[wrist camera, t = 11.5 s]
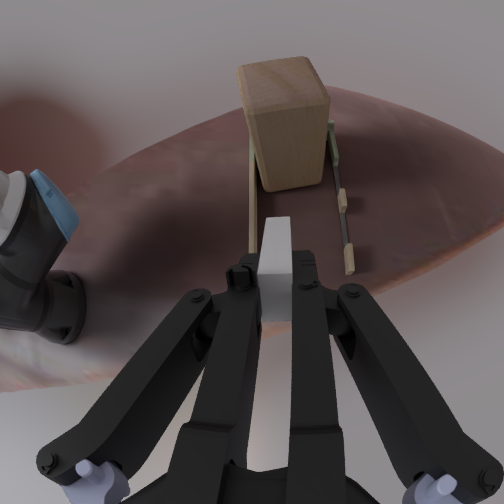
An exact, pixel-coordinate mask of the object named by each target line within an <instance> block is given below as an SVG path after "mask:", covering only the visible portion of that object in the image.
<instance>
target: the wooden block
mask: <svg viewBox="0 0 504 504" xmlns="http://www.w3.org/2000/svg"><path fill="white" fill-rule="evenodd" d="M236 75H237V79H238V85H239V89H240V94H241V99H242V104H243V109H244V114H245V117H246V121H247V125H248V129H249V133H250V137H251V141H252V145H253V149H254V153H255V157H256V161H257V165H258V169H259V173H260V177H261V181H262V185H263V188H264V190H265V191H266V192H275V191H280V190H286V189H291V188H297V187H303V186H309V185H315V184H318V183H320V182H321V180H322V173H323V165H324V156H325V148H326V138H327V128H328V118H329V106H330V97H329V95H328V93H327V91H326V89H325V87H324V85H323V83H322V81H321V80H320V78H319V76H318V74H317V73H316V71H315V69H314V67H313V65H312V64H311V62H310V60H309V59H308V58H307V57H302V56H301V57H292V58H284V59H277V60H270V61H263V62H258V63H252V64H247V65H242V66H240V67H238V69H237V73H236Z"/></svg>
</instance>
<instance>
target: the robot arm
mask: <svg viewBox="0 0 504 504" xmlns="http://www.w3.org/2000/svg"><path fill="white" fill-rule="evenodd" d="M78 224H79V216H78V213H77V212H76V210H75V209H74V207H73V206H72V205H71V203H70V202H69V201H68V200H67V199H66V197H65V196H64V195H63V194H62V193H61V192H60V190H59V189H58V188H57V187H56V186H55V185H54V184H53V183H52V182H51V181H50V179H49V178H47V176H45V174H44V173H42V172H41V171H39V170H38V169H36V170H34V171H33V172H32V173H31V174H30V177H28V176H27V175H25V174H24V173H23V172H21V171H15V172H13V173H11V174H9V175H6V174H5V173H3V172H2V171H0V328H4V329H11V330H19V331H28V332H34V333H36V334H38V335H39V336H41V337H43V338H45V339H47V340H48V341H50V342H53V343H58V344H67V343H70V342H71V341H73V340H74V339H75V338H76V337H77V336H78V334H79V333H80V331H81V329H82V326H83V323H84V319H85V313H86V300H85V294H84V290H83V287H82V285H81V283H80V281H79V280H78V278H77V277H76V276H75V275H73V274H72V273H69V272H67V271H64V270H51V271H50V269H51V267H52V266H53V264H54V263H55V261H56V259H57V258H58V256H59V255H60V253H61V252H62V250H63V249H64V247H65V246H66V244H67V243H69V241H70V237H71V236H72V234H73V232H74V231H75V229H76V228H77V226H78ZM226 278H227V284H228V290H227V291H226V292H224V293H220V294H216V295H212V296H211V292H210V291H208V290H206V289H194V290H191V291H189V292H188V293H186V294H185V295H184V296H183V298H182V299H181V300H180V301H179V302H178V303H177V305H176V306H175V307H174V308H173V309H172V310H171V312H170V313H169V314H168V315H167V316H166V317H165V319H164V320H163V321H162V322H161V323H160V325H159V326H158V327H157V328H156V329H155V330H154V332H153V333H152V334H151V335H150V336H149V338H148V339H147V340H146V341H145V342H144V344H143V345H142V346H141V347H140V348H139V350H138V351H137V352H136V353H135V354H134V356H133V357H132V358H131V359H130V361H129V362H128V363H127V364H126V365H125V367H124V368H123V369H122V370H121V371H120V373H119V374H118V375H117V376H116V378H115V379H114V380H113V381H112V383H111V384H110V385H109V386H108V387H107V389H106V390H105V391H104V393H103V394H102V395H101V396H100V397H99V399H98V400H97V401H96V403H95V404H94V405H93V407H91V409H90V410H89V411H88V413H87V414H86V415H85V416H84V418H83V419H82V420H81V422H80V423H79V424H77V425H76V426H75V427H73V428H72V429H70V430H68V431H67V432H65V433H64V434H63V435H61V436H60V437H58V438H56V439H55V440H53V441H52V442H50V443H49V444H47V445H45V446H44V447H43V448H42V449H41V450H40V451H39V452H38V455H37V459H36V464H37V468H38V470H39V471H40V473H41V474H42V475H44V476H45V477H47V478H49V479H50V480H52V481H54V482H56V483H57V484H59V485H60V486H61V487H62V489H63V490H64V492H65V494H66V496H67V497H68V499H69V501H70V502H71V504H380V503H379V502H378V501H376V500H375V499H374V498H373V497H372V496H371V495H370V494H369V493H368V492H367V491H366V490H365V489H363V488H362V487H361V486H360V485H359V484H358V483H357V482H355V481H354V480H353V479H351V478H349V477H347V476H346V475H345V457H344V439H343V432H342V428H341V427H340V426H339V422H338V411H337V399H336V389H335V380H334V370H333V362H332V354H331V346H330V339H329V334H331V335H333V337H334V340H335V342H336V344H337V346H338V348H339V350H340V352H341V354H342V356H343V358H344V360H345V362H346V364H347V366H348V368H349V371H350V372H351V375H352V377H353V379H354V381H355V383H356V385H357V387H358V389H359V391H360V394H361V396H362V398H363V400H364V402H365V404H366V406H367V409H368V411H369V413H370V415H371V418H372V420H373V422H374V424H375V426H376V429H377V431H378V433H379V435H380V438H381V440H382V442H383V444H384V447H385V449H386V451H387V454H388V456H389V458H390V461H391V463H392V465H393V467H394V469H395V471H396V473H397V475H398V477H399V479H400V480H401V482H402V483H403V485H404V486H405V487H406V488H407V490H406V492H405V494H404V496H403V500H402V504H476V503H478V502H480V501H482V500H484V499H487V498H488V497H490V496H492V495H494V494H495V493H496V492H497V490H498V489H499V488H500V486H501V484H502V482H503V476H504V471H503V467H502V465H501V464H500V463H499V461H498V460H496V459H495V458H494V457H493V456H492V455H490V454H489V453H488V452H487V451H486V450H484V449H483V448H482V447H481V446H479V445H478V444H477V443H476V442H474V441H473V440H472V439H471V438H470V437H469V436H467V435H466V434H465V433H464V432H463V431H462V429H461V427H460V425H459V424H458V422H457V420H456V419H455V417H454V415H453V414H452V412H451V411H450V409H449V407H448V405H447V404H446V402H445V400H444V399H443V397H442V396H441V394H440V393H439V391H438V390H437V388H436V386H435V385H434V383H433V382H432V380H431V379H430V377H429V376H428V374H427V372H426V371H425V370H424V368H423V366H422V365H421V364H420V362H419V361H418V359H417V358H416V356H415V355H414V353H413V352H412V350H411V349H410V348H409V346H408V345H407V343H406V342H405V340H404V339H403V338H402V336H401V335H400V333H399V332H398V331H397V329H396V328H395V327H394V325H393V324H392V322H391V321H390V320H389V319H388V317H387V316H386V314H385V313H384V312H383V310H382V309H381V308H380V306H379V305H378V304H377V302H376V301H375V300H374V299H373V297H372V296H371V295H370V293H369V292H368V291H367V290H366V289H365V288H364V287H363V286H361V285H359V284H354V283H349V284H344V285H342V286H341V287H340V288H339V289H338V291H336V290H331V289H327V288H325V287H323V286H322V285H321V283H320V281H319V280H318V274H317V268H316V263H315V257H314V254H313V253H312V252H311V251H310V250H303V251H291V229H290V216H289V217H269V218H266V223H265V229H264V235H263V241H262V248H261V253H246V254H245V255H244V256H243V257H242V258H241V259H240V263H239V264H236V265H234V266H231V267H230V268H228V269H227V270H226ZM261 317H262V321H292V384H291V385H292V386H291V419H290V437H289V457H288V467H284V468H279V469H274V470H269V471H263V472H255V471H252V470H248V469H247V447H248V440H249V431H250V424H251V416H252V409H253V401H254V392H255V384H256V375H257V367H258V359H259V350H260V341H261V332H262V326H261ZM205 365H206V366H205ZM204 367H205V369H204ZM203 369H204V373H203V376H202V380H201V383H200V387H199V390H198V394H197V398H196V401H195V405H194V408H193V412H192V416H191V419H190V421H189V422H187V423H184V424H183V425H182V426H181V428H180V431H179V434H178V437H177V440H176V444H175V447H174V451H173V454H172V458H171V461H170V465H169V468H168V472H167V473H165V474H164V475H162V476H161V477H159V478H158V479H156V480H155V481H153V482H152V483H150V484H149V485H147V486H146V487H144V488H143V489H141V490H140V491H138V492H137V493H135V494H134V495H132V496H130V497H129V498H127V499H126V500H124V501H122V502H121V500H122V499H123V497H126V496H128V495H129V493H130V488H129V484H128V480H129V479H130V478H131V477H132V476H133V475H134V474H135V473H136V472H137V471H138V470H139V469H140V468H141V467H142V465H143V464H144V462H145V461H146V460H147V458H148V457H149V455H150V453H151V452H152V451H153V449H154V447H155V446H156V444H157V443H158V441H159V440H160V438H161V436H162V435H163V433H164V432H165V430H166V428H167V427H168V425H169V424H170V422H171V420H172V419H173V417H174V416H175V414H176V412H177V411H178V409H179V408H180V406H181V404H182V403H183V401H184V400H185V398H186V396H187V394H188V393H189V391H190V390H191V388H192V387H193V385H194V383H195V382H196V380H197V378H198V377H199V375H200V374H201V371H202V370H203Z"/></svg>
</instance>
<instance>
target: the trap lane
mask: <svg viewBox="0 0 504 504" xmlns="http://www.w3.org/2000/svg"><path fill="white" fill-rule="evenodd" d="M248 130H249V129H248ZM333 130H334V120H328V128H327V138H326V141H328V144H329V149H330V154H331V160H332V166H333V172H334V178H335V184H336V191H337V198H338V205H339V213H340V221H341V229H342V238H343V248H344V259H345V272H346V275H351V274H352V273H353V272H354V271H355V267H354V256H353V246H352V243H351V244H348V237H347V228H346V220H345V211H346V208H347V200H346V193H345V189H341V185H340V179H339V173H338V168H337V166H338V161H339V154H338V149H337V144H336V140H335V135H334V131H333ZM249 134H250V133H249ZM249 253H257V161H256V157H255V153H254V149H253V145H252V141H251V137H250V161H249Z"/></svg>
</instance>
